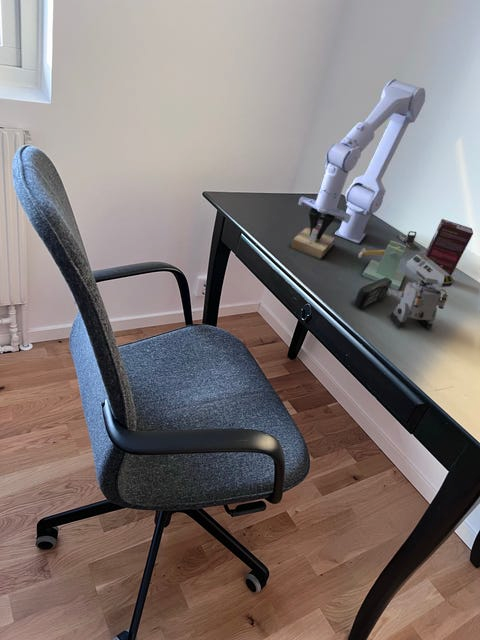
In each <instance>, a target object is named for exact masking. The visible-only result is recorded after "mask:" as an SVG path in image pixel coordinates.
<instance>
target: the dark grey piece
mask: <svg viewBox="0 0 480 640" xmlns="http://www.w3.org/2000/svg"><path fill="white" fill-rule="evenodd" d="M388 283H390V286H391V283H392V280H390V279H389V278H383V279H379V280H376V281H375V280H373V281H372V282H370V283H367V284H365V285H364V286H362V287H361V288H359V290H358V292H357V294H356V296H355V298H354V301H353V304H354V306H355V307H356V308H358V309H363V308H365V307H366V306H368V305H371V304H372V303H374V302H377V301H380V300H381V299H383V298H384V297H385V296H386V295H387V294H388V291H389V288H388V287H387V286H389V284H388ZM387 284H388V285H387Z"/></svg>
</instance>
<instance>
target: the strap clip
mask: <svg viewBox="0 0 480 640" xmlns="http://www.w3.org/2000/svg"><path fill="white" fill-rule="evenodd" d="M411 233H414V234H411ZM416 237H417V232H416V231H412V230H410V231H408V232H407V235H404V234H399V235H398V238H399V239H400V240H401V241H402V242H403V243H405V246H406V247H408V248H410V249H412V250H419V246H418V245H416V244H415V243H414V241H415V239H416Z"/></svg>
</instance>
